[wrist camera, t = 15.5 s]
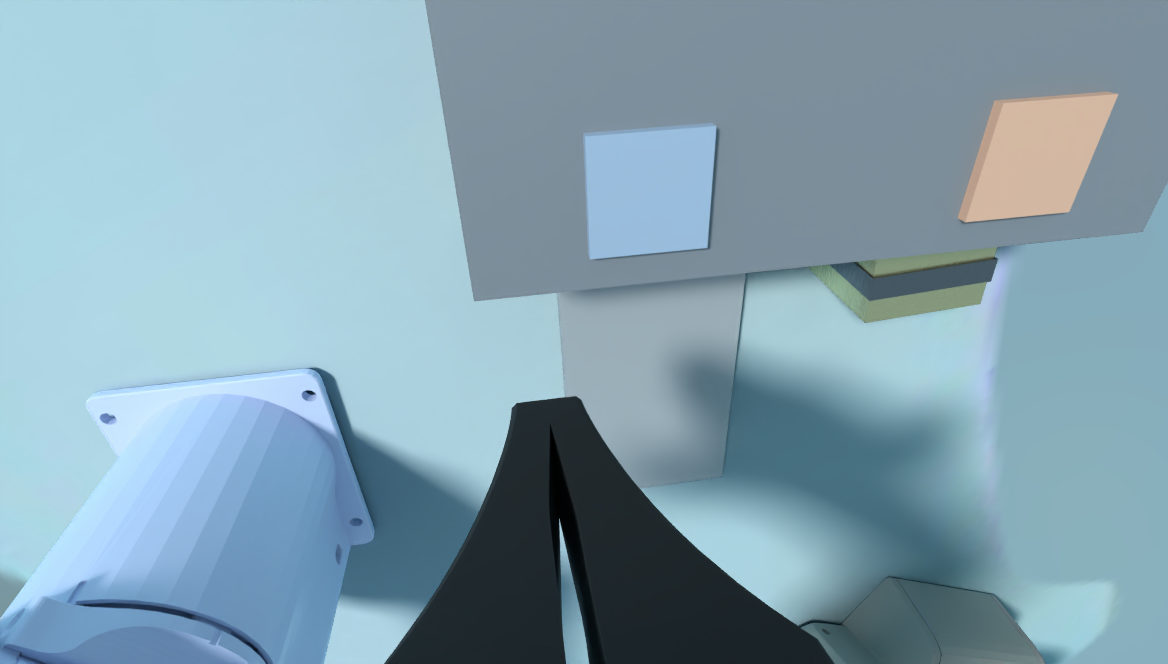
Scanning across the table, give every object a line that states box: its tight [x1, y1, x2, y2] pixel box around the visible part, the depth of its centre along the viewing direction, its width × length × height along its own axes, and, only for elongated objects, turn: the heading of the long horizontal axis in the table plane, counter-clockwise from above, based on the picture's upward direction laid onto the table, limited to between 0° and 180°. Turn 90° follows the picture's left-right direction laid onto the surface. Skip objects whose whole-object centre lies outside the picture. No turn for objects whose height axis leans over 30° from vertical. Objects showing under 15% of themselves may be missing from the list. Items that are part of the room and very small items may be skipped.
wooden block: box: [810, 247, 998, 323], centre depth 19 cm, size 9×4×4 cm, turn 6°
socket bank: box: [425, 0, 1168, 301], centre depth 16 cm, size 8×19×6 cm, turn 92°
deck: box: [557, 273, 746, 488], centre depth 25 cm, size 11×7×1 cm, turn 2°
